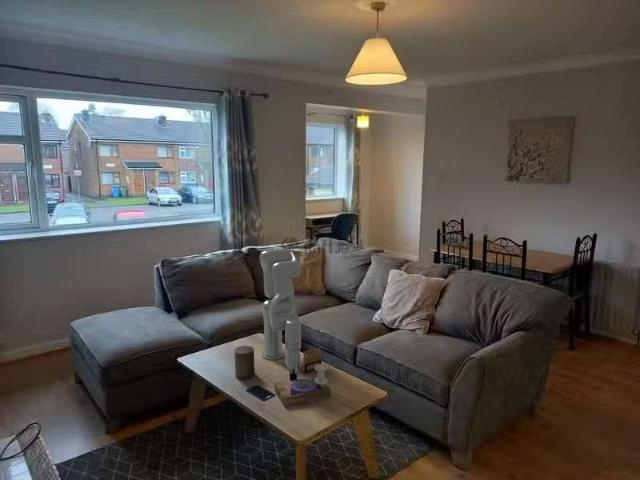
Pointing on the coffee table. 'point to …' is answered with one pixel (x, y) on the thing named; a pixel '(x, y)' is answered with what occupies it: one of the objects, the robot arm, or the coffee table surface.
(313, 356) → the ammunition clip
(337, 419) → the coffee table surface
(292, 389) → the tape roll
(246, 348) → the pillar candle
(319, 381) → the doorknob
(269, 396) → the cell phone
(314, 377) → the u-shaped wooden bracket
